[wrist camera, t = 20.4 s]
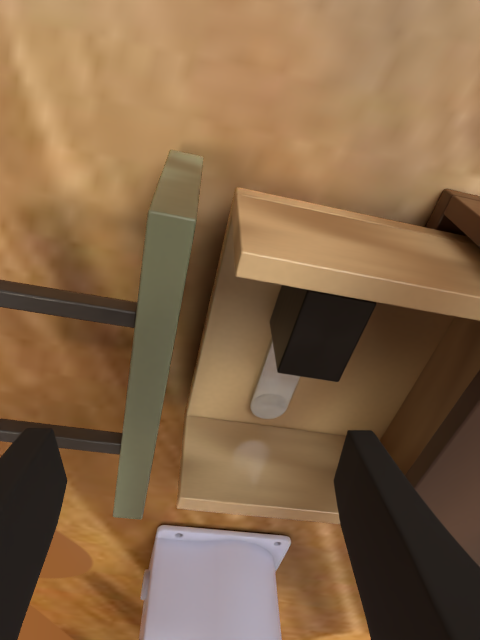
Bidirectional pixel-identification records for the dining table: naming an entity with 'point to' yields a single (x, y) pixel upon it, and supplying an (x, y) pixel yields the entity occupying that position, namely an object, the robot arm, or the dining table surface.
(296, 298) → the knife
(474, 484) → the cabinet
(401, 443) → the drawer
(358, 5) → the dining table surface
